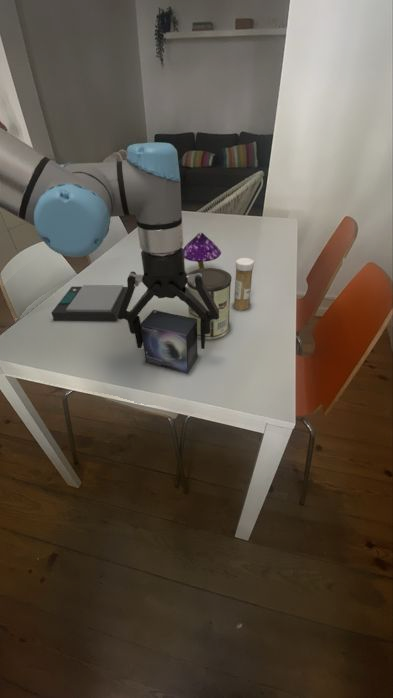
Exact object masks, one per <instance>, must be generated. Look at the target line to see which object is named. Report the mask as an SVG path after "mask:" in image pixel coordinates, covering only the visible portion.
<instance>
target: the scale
mask: <svg viewBox="0 0 393 698" xmlns="http://www.w3.org/2000/svg"><path fill="white" fill-rule="evenodd" d="M127 289H128V286H125V285H123V284H83V285H82V286H74V285H73V286H71V287H70V288H69V290H68V291H67V292H66V293H65V295H63V296H62V298H61V299H60V301H59V302H58V303H57V305H56V306H55V307H54V309H52V311H51V312H50V314H51V317H52V319H53V321H57V322H58V321H59V322H60V321H61V322H65V321H66V322H67V321H69V322H73V321H74V322H117V321H118V313H119V311H120V308H121V305H122V302H123V300H124V297H125V294H126V291H127Z"/></svg>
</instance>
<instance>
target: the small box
mask: <svg viewBox="0 0 393 698" xmlns="http://www.w3.org/2000/svg"><path fill="white" fill-rule="evenodd" d="M140 328H141V334H142V341H143V344H142V347H143V354H144V360H145V361H144V362H145V363H146V364H151V365H154V366H158V367H162V368H166V369H170V370H173V371H177V372H181V373H183V374H189V373H190V371H191V370H192V368H193V366H194V365H195V363H196V362H197V360H198V358H199V355H198V337H197V319H195V318H190V317H189V316H185V315H180V314H177V313H176V314H175V313H170V312H167V311H166V312H165V311H160V310H156V309H152V310H151V312H150V313H149V314H148V315H147V316H146V317H145V318H144V319H143V320H142V321H141V322H140Z"/></svg>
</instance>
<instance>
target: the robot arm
mask: <svg viewBox="0 0 393 698" xmlns="http://www.w3.org/2000/svg"><path fill="white" fill-rule="evenodd" d="M180 174H181V173H180V165H179V153H178V150H177V148H176V147H175V146H174V145H173V144H172V143H169V142H160V141H159V142H156V141H155V142H143V143H133V144H130V145H128V147H127V148H126V159H123V160H120V161H118V160H117V161H108V162H107V161H104V162H103V161H102V162H81V163H80V162H78V163H77V162H76V163H75V162H67V163H63V164H58V163H57V162H55V161H54V160H52V159H50V158H49V157H47V156H46V155H45V154H44V153H41V152H40V151H38V150H37V149H35V148H34V147H32V146H30V145H29V144H27V143H26V142H24V141H23V140H21V139H20V138H18V137H17V136H15V135H13V134H12V133H10V132H8V131H7V130H5V129H3V128H2V127H0V209H2V210H3V211H6V212H7V213H9V214H11V215H14V216H15V217H17V218H19V219H21V220H23V221H25V222H26V223H28V224H30V225H32V226H34V227H35V230H36V232H37V235H38V236H39V237H40V239H41V240H42V242H44V244H45V245H46V246H47V247H48V248H49V249H50V250H52V251H53V252H55V253H57V254H59V255H61V256H64V257H69V258H83V257H86V256H88V255H91V254H93V253H94V252H95V251H96V250H98V249H99V247H100V246H101V244H103V242H104V240H105V239H106V237H107V236H108V234H109V231H110V225H111V218H112V217H124V216H127V217H128V216H135V218H136V227H137V234H138V241H139V248H140V250H141V251H140V256H141V263H142V271H143V274H137V273H136V272H135V271H131V272H129V274H128V277H127V279H126V280H127V281H126V282H127V283H126V284H127V287H128V289H127V291H126V294H125V297H124V300H123V302H122V305H121V308H120V311H119V313H118V319H119V320H125V321H127V323H128V329H129V333H130V334H131V335H134V336H135V342H136V348H137V349H142V347H143V341H142V334H141V328H140V324H141V318H140V315H139V314H140V313H141V312H142V310H143V309H144V308H145V306H146V305H148V303H149V302H150V301H151V300H152V299H153V298H154V296H155V297H156V298H157V299H164V298H167V299H175V298H176V297H177V298H178V299H179V300H180V301H182V302H184V303H185V304H186V305H187V307H188V306H189V307H190V308H191V309H192V310H193V311H194V312H195V313H196V314H197V315H198V316H199V317H200V318H201V322H200V327H201V338H200V349H201V350H205V347H206V339H205V334H209V333H210V321H211V320H213V319H215V320H217V319H219V309H218V307H217V306H216V304H215V302H214V300H213V298H212V297H211V295H210V293H209V291H208V290H207V288H206V286H205V284H204V282H203V278H202V272H200V271H197V272H196V274H189V273H187V272H186V266H185V265H186V264H185V258H184V247H183V246H184V232H183V231H184V230H183V217H182V216H183V215H182V213H183V212H182V211H183V210H182V187H181V176H180ZM188 274H189V275H188ZM187 282H191V284H192V285H193V286H196V289H197V291H198V293H199V295H200V296H201V298H202V300H203V302H204V303H205V305H206V307H207V308H208V310H209V311H208V310H207V309H206V308H205V307H204V306H203V305H202V304H201V303H200V302H199V301H198V300H197V299H196V298H195V297H194V296H193V295H192V294H191V293H190V292H189V290H188V288H187ZM140 283H142V284H143V285H144V286H145V287H146V291H145V292H144V293H143V294H142V296H141V297H140V299H139V300H138V301H137V302H136V303H135V304H134V306H133V307H132V308H131V309H129V310H128V308H129V306H130V302H131V300H132V297H133V295H134V293H135V290H136V288H137V287H139V285H140ZM118 319H117V320H118Z"/></svg>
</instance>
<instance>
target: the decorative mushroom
mask: <svg viewBox="0 0 393 698" xmlns="http://www.w3.org/2000/svg"><path fill="white" fill-rule="evenodd" d="M183 249H184V260H187V261H190V262H197V264H198V265H197V266H198V269H203V268H205V264H204V262H205V263H206V262H210V261H214V260H215V261H216V260H217V259H218V258H219V257H220V256H221V254H222V251H221V250H220V248H219V247H218V246H217V245H216V243H214V242H213V241H212V240H211V239H210V238H209V237H207V235H205V234H204V232H198V233H197V234H196V235H195V236H194V237H193V238H191V240H190V241H189V242H188V243H186V245H185V246H184V247H183Z"/></svg>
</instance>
